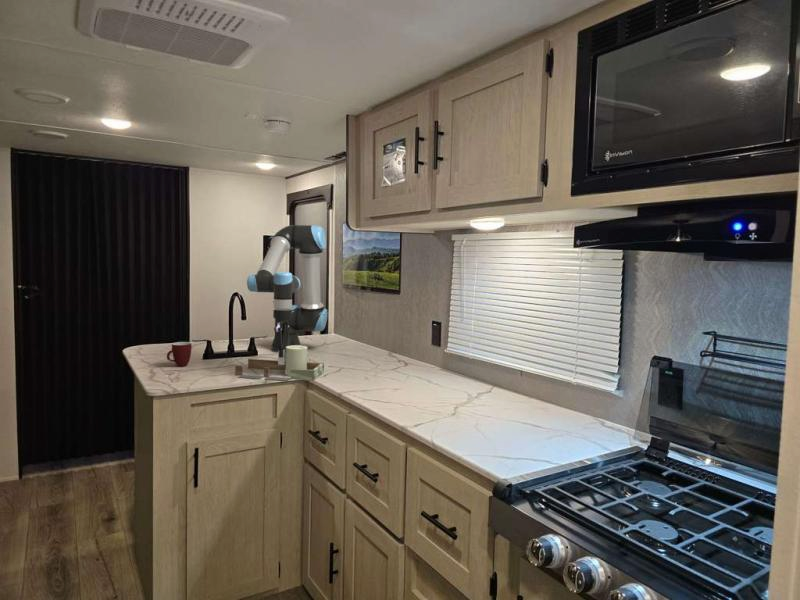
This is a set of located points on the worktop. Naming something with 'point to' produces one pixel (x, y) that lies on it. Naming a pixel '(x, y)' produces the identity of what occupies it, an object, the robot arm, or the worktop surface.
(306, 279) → the robot arm
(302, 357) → the can
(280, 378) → the mats
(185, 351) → the mug
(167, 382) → the worktop surface
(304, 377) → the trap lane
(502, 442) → the worktop surface
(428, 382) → the worktop surface
